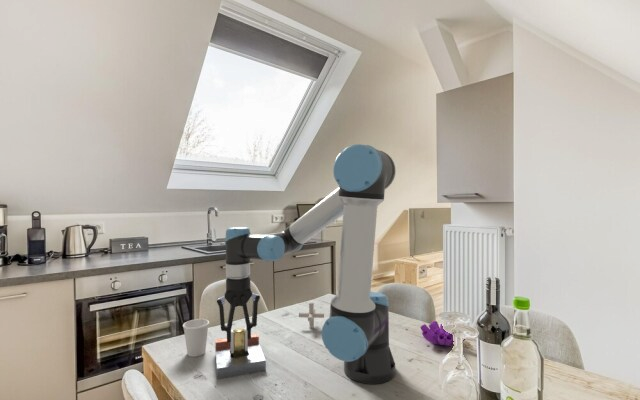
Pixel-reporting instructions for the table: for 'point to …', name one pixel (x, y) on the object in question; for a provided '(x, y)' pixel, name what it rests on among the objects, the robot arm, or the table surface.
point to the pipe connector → (311, 315)
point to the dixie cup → (196, 336)
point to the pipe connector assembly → (437, 334)
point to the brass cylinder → (239, 343)
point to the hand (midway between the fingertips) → (239, 350)
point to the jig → (239, 358)
